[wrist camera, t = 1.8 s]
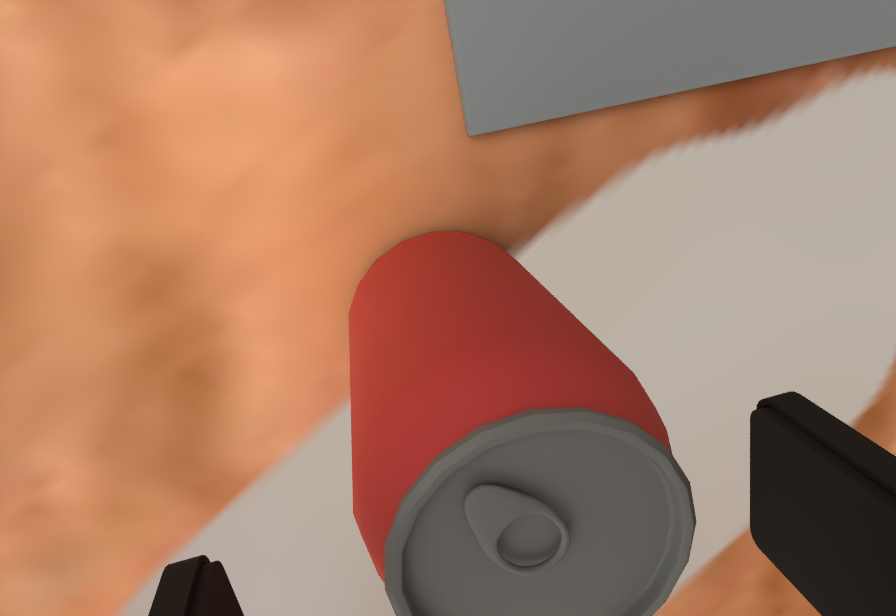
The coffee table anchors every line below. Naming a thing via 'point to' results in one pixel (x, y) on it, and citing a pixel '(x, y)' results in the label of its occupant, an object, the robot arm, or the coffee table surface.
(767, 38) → the slate mat
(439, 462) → the beer can
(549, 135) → the coffee table surface
